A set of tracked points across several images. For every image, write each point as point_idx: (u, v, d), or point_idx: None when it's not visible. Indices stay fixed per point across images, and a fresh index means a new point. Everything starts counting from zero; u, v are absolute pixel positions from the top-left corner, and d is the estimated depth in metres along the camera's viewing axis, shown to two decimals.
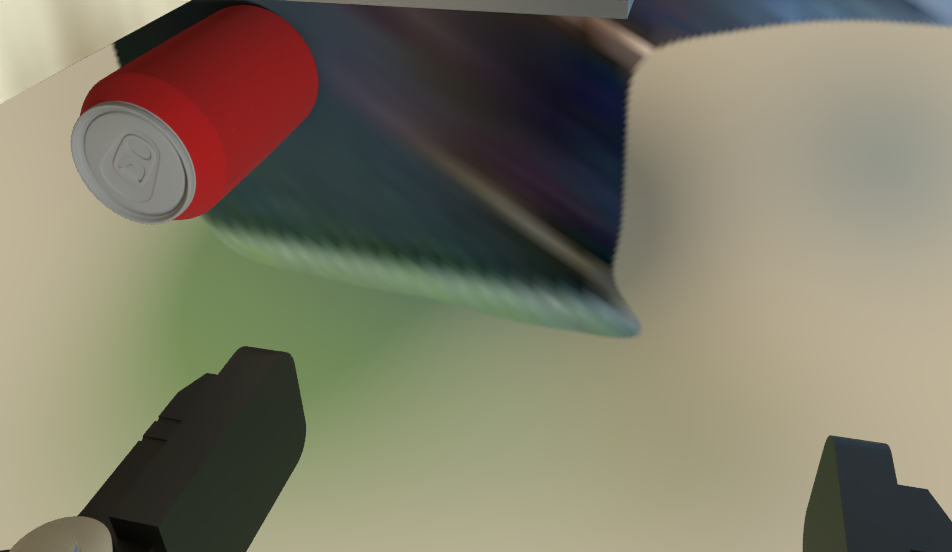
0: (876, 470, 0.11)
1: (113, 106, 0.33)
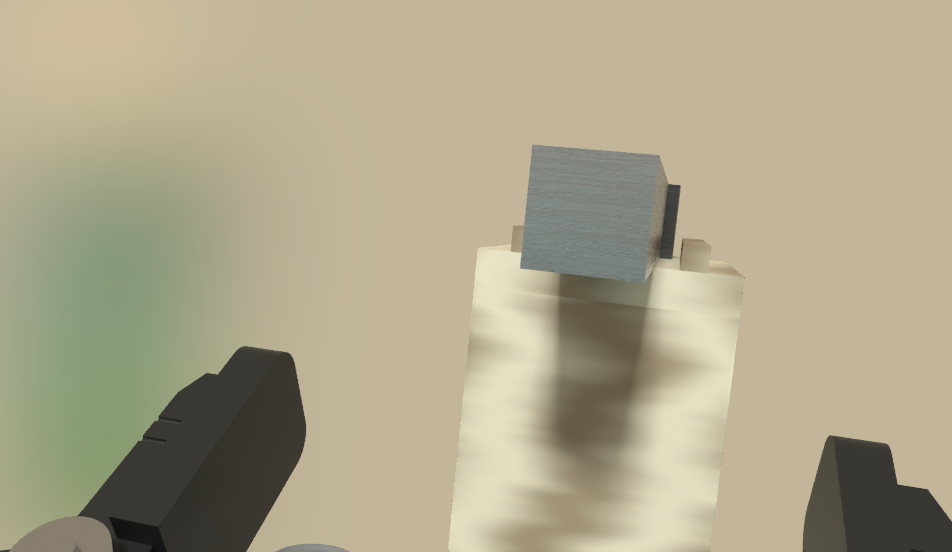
0: (876, 470, 0.11)
1: None
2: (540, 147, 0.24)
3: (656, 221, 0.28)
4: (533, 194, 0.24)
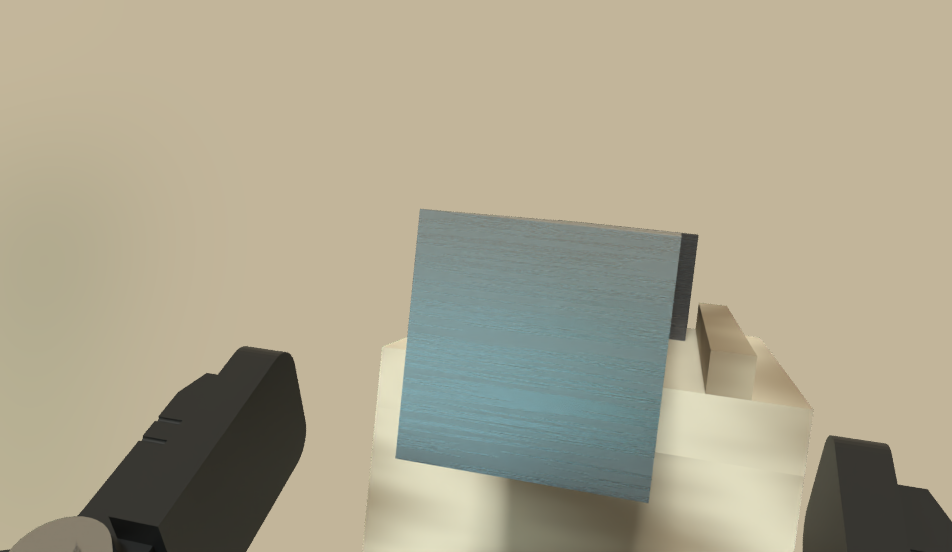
0: (876, 470, 0.11)
1: None
2: (435, 214, 0.12)
3: None
4: (420, 310, 0.12)
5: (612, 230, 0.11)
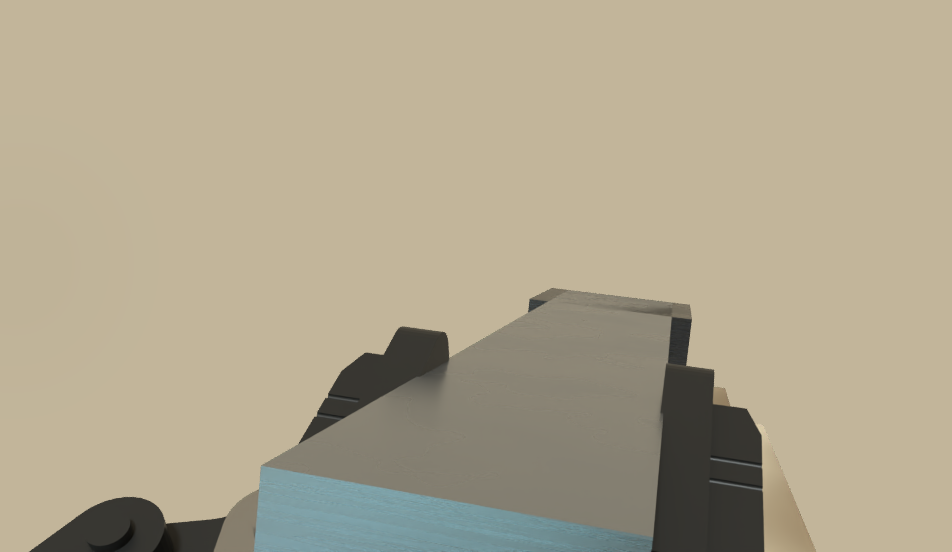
0: (697, 390, 0.12)
1: None
2: (283, 476, 0.08)
3: None
4: None
5: (546, 519, 0.07)
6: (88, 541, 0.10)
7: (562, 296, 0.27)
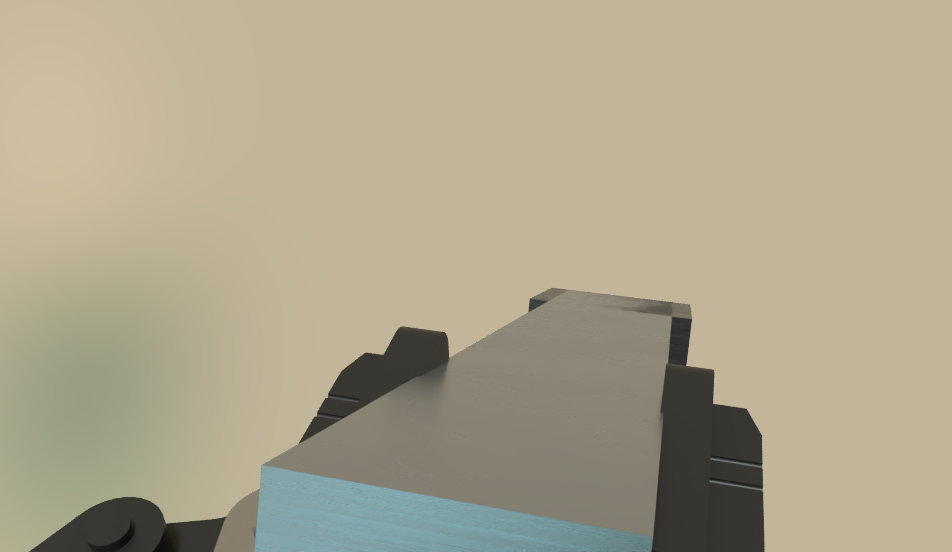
0: (696, 390, 0.12)
1: None
2: (284, 475, 0.08)
3: None
4: None
5: (547, 519, 0.07)
6: (88, 541, 0.10)
7: (562, 296, 0.27)
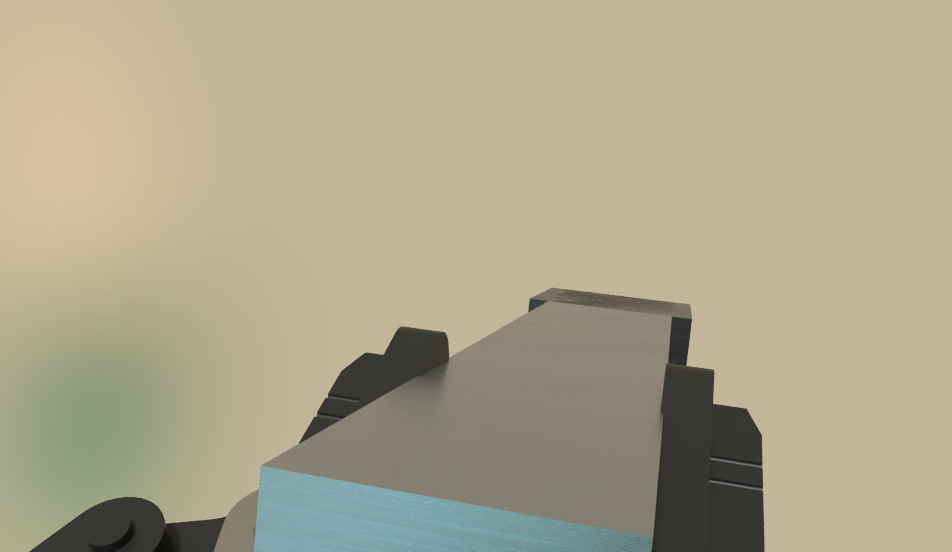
0: (697, 390, 0.12)
1: None
2: (283, 476, 0.08)
3: None
4: None
5: (546, 520, 0.07)
6: (88, 541, 0.10)
7: (562, 296, 0.27)
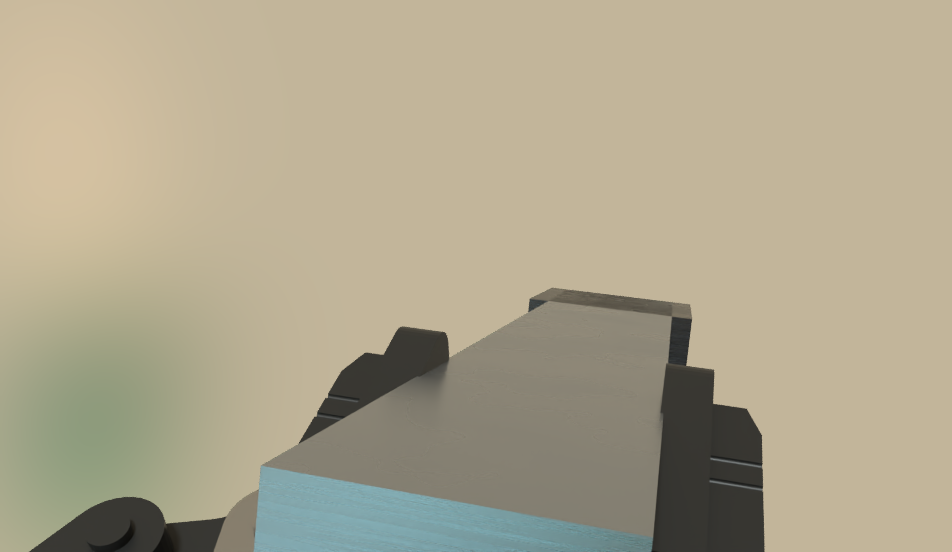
0: (697, 390, 0.12)
1: None
2: (283, 476, 0.08)
3: None
4: None
5: (546, 520, 0.07)
6: (88, 541, 0.10)
7: (562, 296, 0.27)
